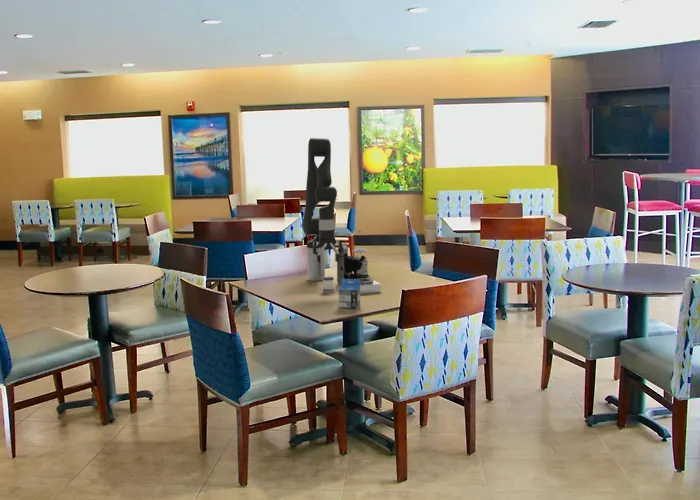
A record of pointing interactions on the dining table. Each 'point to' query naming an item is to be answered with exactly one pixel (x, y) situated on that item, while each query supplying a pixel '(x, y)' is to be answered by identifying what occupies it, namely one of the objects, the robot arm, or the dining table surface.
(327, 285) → the cream grey cylinder
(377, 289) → the octagonal ring slab
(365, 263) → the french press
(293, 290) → the dining table surface
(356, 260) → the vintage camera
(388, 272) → the dining table surface
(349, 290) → the blue printed box
